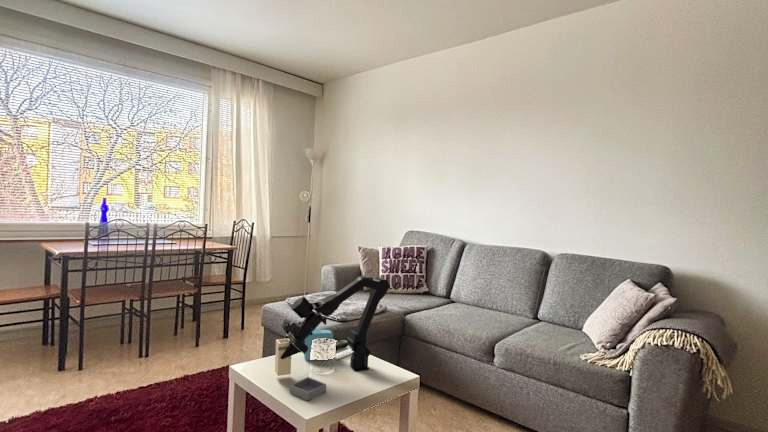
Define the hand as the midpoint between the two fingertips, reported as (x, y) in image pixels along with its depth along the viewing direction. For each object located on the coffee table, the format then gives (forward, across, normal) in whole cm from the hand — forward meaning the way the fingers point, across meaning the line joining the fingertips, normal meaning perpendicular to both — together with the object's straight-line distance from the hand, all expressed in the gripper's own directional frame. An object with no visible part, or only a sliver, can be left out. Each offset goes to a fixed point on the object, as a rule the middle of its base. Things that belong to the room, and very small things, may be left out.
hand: (279, 356), depth 166 cm
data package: (-8, -15, +21) cm, 27 cm away
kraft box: (+4, 0, +6) cm, 7 cm away
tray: (+1, +15, +12) cm, 19 cm away
